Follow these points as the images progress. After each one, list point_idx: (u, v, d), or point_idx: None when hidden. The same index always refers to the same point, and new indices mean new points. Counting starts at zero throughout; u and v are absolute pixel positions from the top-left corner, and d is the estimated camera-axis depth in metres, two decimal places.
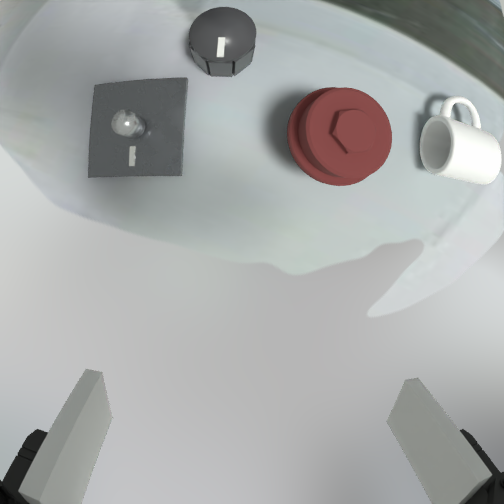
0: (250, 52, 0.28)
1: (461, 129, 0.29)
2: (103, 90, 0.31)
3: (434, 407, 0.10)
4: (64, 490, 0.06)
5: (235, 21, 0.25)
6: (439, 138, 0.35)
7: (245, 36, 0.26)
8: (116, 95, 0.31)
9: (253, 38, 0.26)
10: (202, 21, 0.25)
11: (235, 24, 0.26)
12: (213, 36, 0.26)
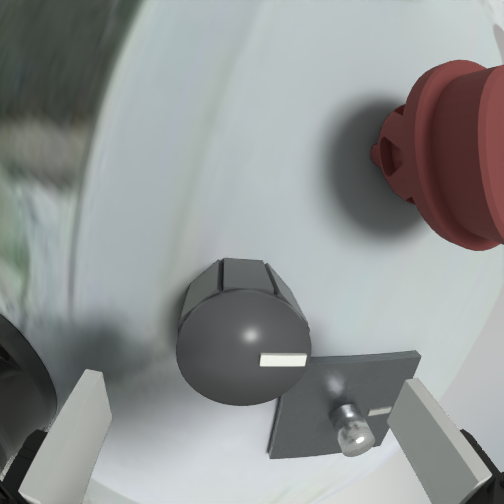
0: (283, 293, 0.16)
1: None
2: (281, 450, 0.24)
3: (434, 407, 0.10)
4: (64, 490, 0.06)
5: (216, 336, 0.15)
6: None
7: (258, 317, 0.15)
8: (294, 438, 0.24)
9: (264, 301, 0.14)
10: (214, 389, 0.16)
11: (224, 335, 0.15)
12: (254, 371, 0.15)
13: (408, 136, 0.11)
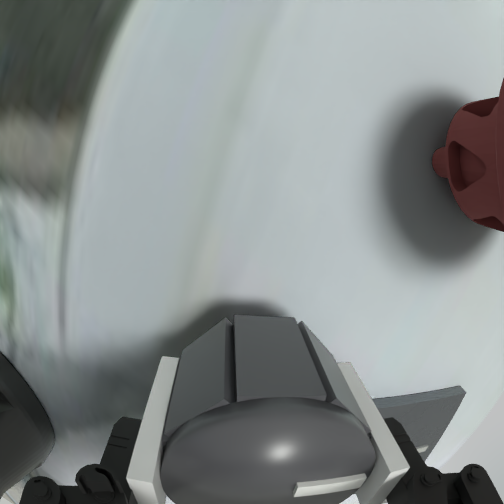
0: (338, 395, 0.08)
1: None
2: None
3: (359, 391, 0.11)
4: None
5: (225, 469, 0.07)
6: None
7: (299, 446, 0.07)
8: None
9: (312, 426, 0.07)
10: None
11: (239, 469, 0.07)
12: (284, 499, 0.08)
13: None
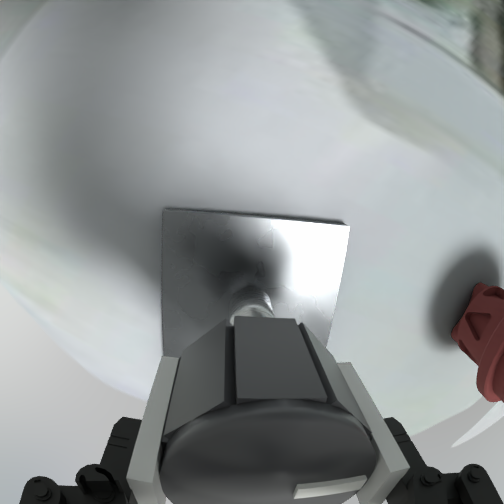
0: (339, 396, 0.08)
1: None
2: (183, 226, 0.19)
3: (359, 391, 0.11)
4: None
5: (225, 471, 0.07)
6: None
7: (299, 448, 0.07)
8: (213, 243, 0.19)
9: (312, 428, 0.07)
10: None
11: (239, 471, 0.07)
12: (284, 501, 0.08)
13: None
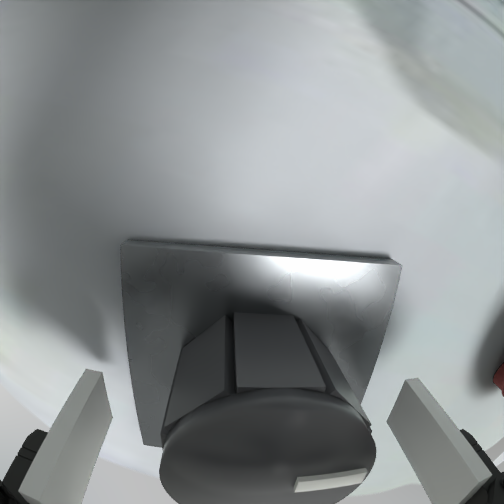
0: (337, 387, 0.08)
1: None
2: (152, 269, 0.12)
3: (434, 407, 0.10)
4: (64, 490, 0.06)
5: (225, 463, 0.07)
6: None
7: (299, 437, 0.07)
8: (199, 294, 0.12)
9: (312, 416, 0.07)
10: None
11: (239, 462, 0.07)
12: (284, 495, 0.08)
13: None
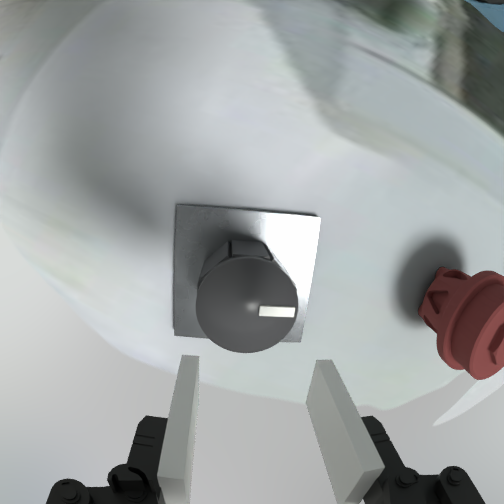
0: (276, 261, 0.21)
1: None
2: (192, 218, 0.25)
3: (338, 388, 0.11)
4: (189, 468, 0.08)
5: (226, 290, 0.20)
6: None
7: (257, 275, 0.20)
8: (215, 230, 0.25)
9: (261, 263, 0.20)
10: (223, 337, 0.21)
11: (232, 290, 0.20)
12: (255, 321, 0.21)
13: (491, 272, 0.21)
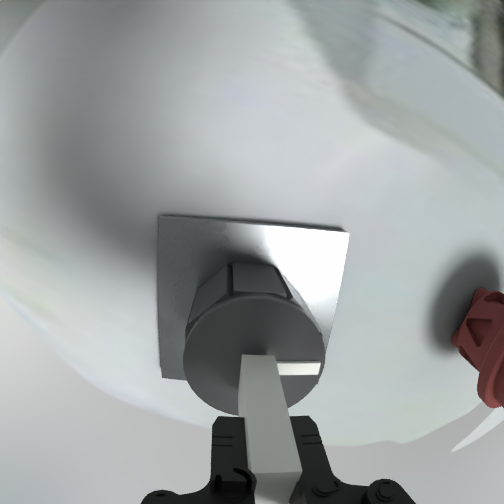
0: (295, 298, 0.15)
1: None
2: (179, 233, 0.18)
3: (272, 385, 0.11)
4: None
5: (226, 343, 0.14)
6: None
7: (270, 323, 0.14)
8: (210, 250, 0.19)
9: (276, 306, 0.14)
10: (222, 399, 0.15)
11: (234, 343, 0.14)
12: None
13: None
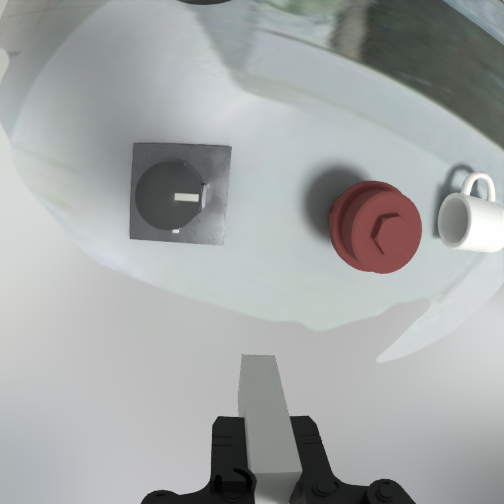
0: (189, 167, 0.31)
1: (478, 210, 0.33)
2: (143, 150, 0.34)
3: (272, 385, 0.11)
4: None
5: (154, 183, 0.30)
6: (456, 209, 0.39)
7: (173, 172, 0.29)
8: (158, 158, 0.35)
9: (176, 164, 0.29)
10: (152, 217, 0.30)
11: (158, 183, 0.30)
12: (172, 205, 0.30)
13: (376, 181, 0.31)
